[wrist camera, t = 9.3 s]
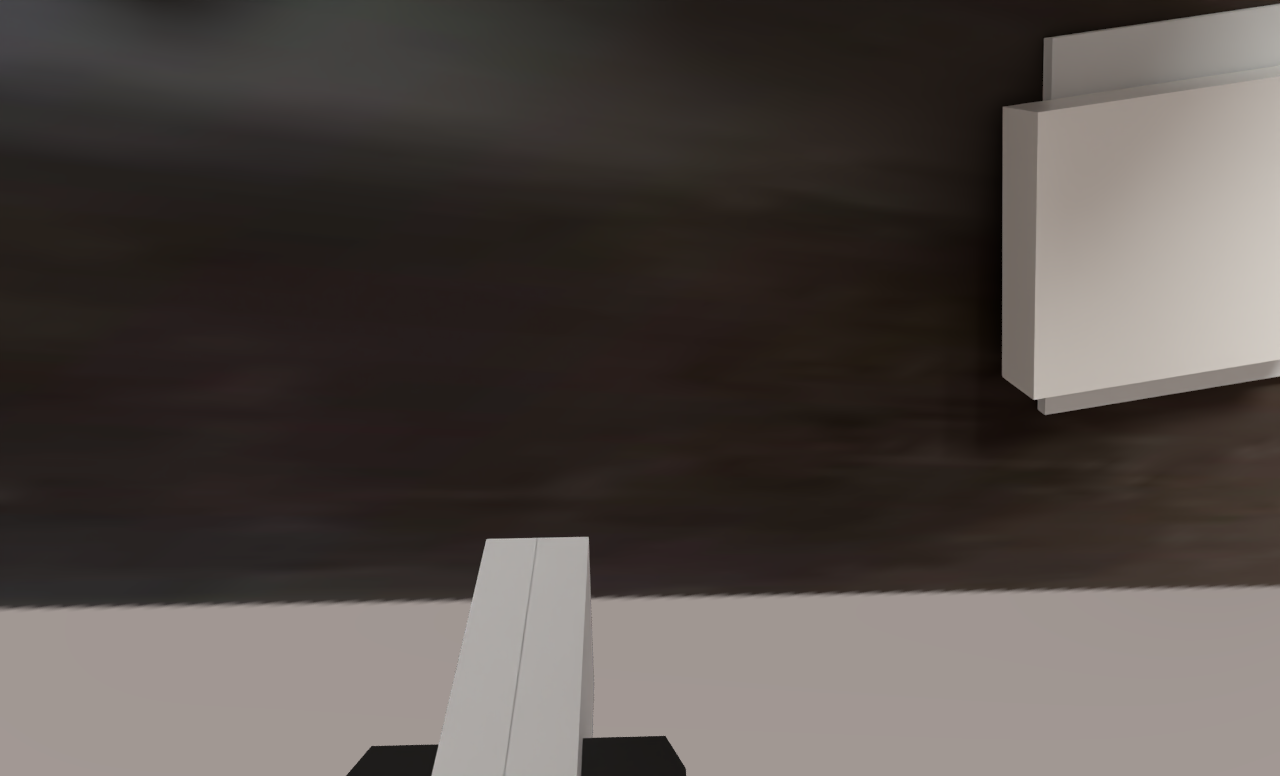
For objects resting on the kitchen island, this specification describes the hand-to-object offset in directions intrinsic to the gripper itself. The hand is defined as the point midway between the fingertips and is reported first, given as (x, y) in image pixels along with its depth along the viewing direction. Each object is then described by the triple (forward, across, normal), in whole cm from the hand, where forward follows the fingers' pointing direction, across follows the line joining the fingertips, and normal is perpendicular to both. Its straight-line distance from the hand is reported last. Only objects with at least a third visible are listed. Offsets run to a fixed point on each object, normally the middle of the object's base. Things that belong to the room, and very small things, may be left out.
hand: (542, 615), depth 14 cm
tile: (+21, +15, 0) cm, 26 cm away
